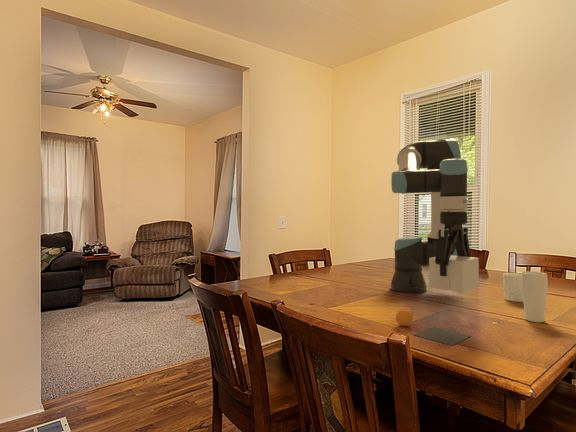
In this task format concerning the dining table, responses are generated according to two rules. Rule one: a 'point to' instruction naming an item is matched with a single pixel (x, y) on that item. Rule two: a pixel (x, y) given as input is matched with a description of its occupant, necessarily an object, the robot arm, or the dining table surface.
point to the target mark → (443, 335)
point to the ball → (404, 317)
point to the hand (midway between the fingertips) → (453, 284)
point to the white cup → (513, 287)
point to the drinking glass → (534, 295)
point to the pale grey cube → (456, 273)
